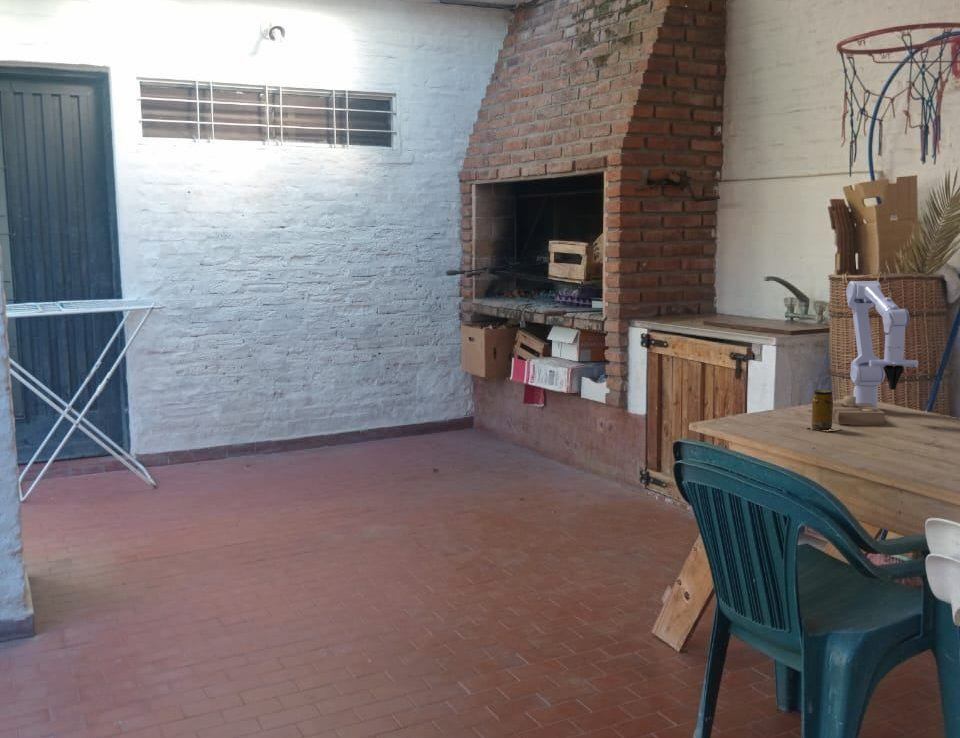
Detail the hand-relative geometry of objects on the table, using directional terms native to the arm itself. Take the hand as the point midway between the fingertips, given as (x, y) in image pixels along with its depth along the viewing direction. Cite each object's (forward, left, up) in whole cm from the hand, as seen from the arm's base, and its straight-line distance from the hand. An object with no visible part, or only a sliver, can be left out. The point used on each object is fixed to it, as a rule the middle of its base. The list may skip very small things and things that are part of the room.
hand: (892, 389), depth 320 cm
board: (-1, -11, -10) cm, 15 cm away
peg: (-4, -12, -7) cm, 15 cm away
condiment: (+14, -24, -11) cm, 30 cm away
